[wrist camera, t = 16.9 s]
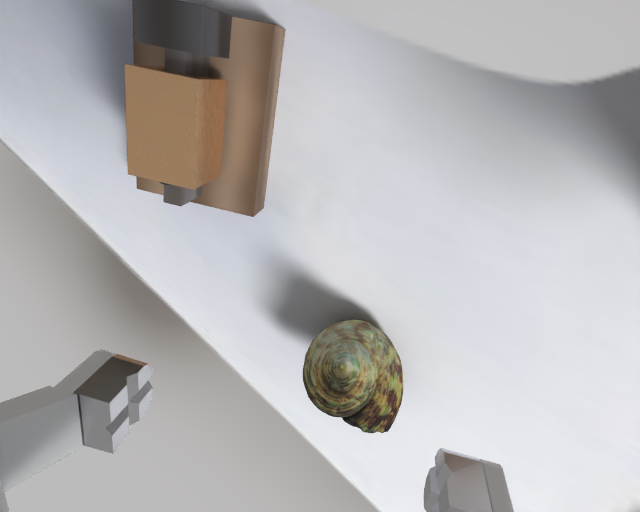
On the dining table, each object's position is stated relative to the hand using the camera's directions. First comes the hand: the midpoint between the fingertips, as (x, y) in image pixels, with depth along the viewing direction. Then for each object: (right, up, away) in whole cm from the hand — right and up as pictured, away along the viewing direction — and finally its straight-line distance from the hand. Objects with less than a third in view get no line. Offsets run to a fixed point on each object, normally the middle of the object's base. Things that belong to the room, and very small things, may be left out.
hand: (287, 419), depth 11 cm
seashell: (+5, -6, +34) cm, 35 cm away
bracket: (-9, +18, +27) cm, 33 cm away
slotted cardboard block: (-10, +16, +23) cm, 30 cm away
